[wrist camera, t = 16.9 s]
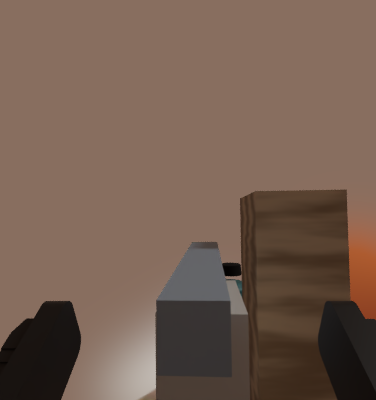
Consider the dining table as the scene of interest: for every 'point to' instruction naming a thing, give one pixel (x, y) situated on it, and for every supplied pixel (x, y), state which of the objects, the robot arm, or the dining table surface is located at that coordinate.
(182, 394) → the cream stand
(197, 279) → the gray bar
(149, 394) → the dining table surface
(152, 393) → the dining table surface
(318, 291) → the oak stand
